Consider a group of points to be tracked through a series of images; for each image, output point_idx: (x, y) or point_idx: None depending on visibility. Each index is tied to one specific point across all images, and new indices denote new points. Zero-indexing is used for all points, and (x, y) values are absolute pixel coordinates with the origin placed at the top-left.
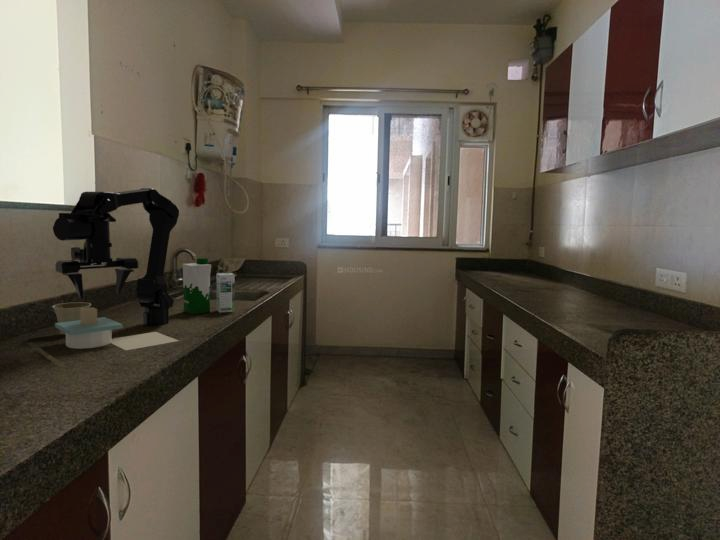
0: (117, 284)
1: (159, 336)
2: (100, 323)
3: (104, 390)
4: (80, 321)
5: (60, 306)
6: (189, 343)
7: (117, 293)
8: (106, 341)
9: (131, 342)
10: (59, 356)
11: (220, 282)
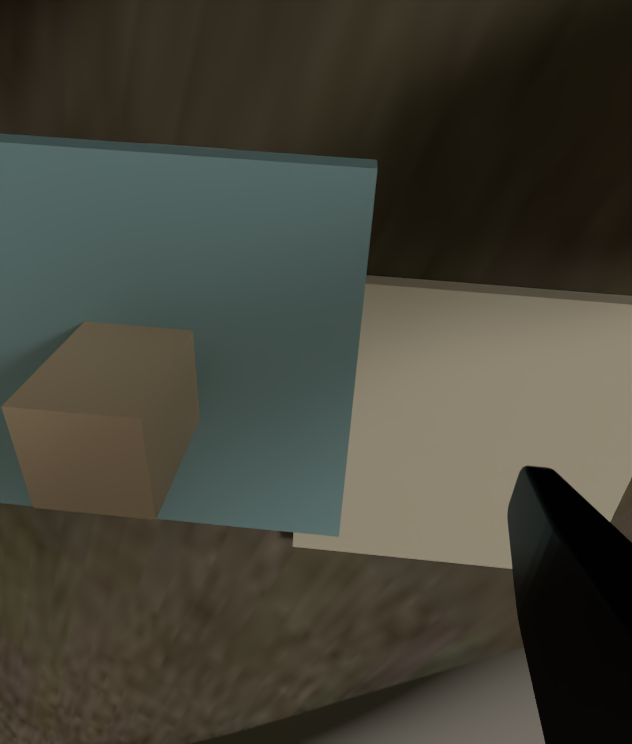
0: (583, 672)
1: (601, 443)
2: (223, 422)
3: (108, 728)
4: (98, 222)
5: None
6: None
7: (517, 503)
8: None
9: (392, 450)
10: None
11: None
